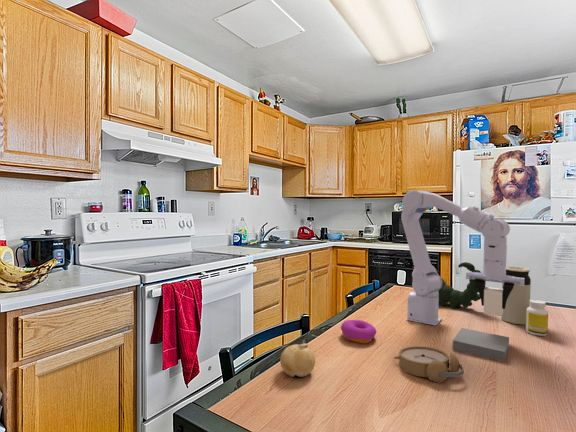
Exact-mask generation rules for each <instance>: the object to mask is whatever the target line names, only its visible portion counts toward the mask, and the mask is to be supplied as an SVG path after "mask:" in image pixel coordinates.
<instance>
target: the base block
mask: <svg viewBox="0 0 576 432" xmlns="http://www.w3.org/2000/svg"><path fill="white" fill-rule="evenodd" d="M509 347H510V337H509V336H505V335H499V334H494V333H490V332H489V333H488V332H486V331H485V332H484V331H478V330H476V329H475V330H473V329H470V328H465V327H461V328H460V329H459V331H458V332H457V334H456V335H455V336H454V338H453V340H452V350H453V351H458V352H460V353H461V352H462V353H467V354H469V355H474V356H478V357H481V358H485V359H486V358H488V359H490V360H496V361H500V362H504V363H505V362H506V361H507V359H506V358H507V355H508V351H509Z"/></svg>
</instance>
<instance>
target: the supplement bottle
mask: <svg viewBox="0 0 576 432" xmlns="http://www.w3.org/2000/svg"><path fill="white" fill-rule="evenodd" d="M546 304H547V302H545V301H543V300H539V299H538V300H537V299H530V307H528V308H527V312H526V324H525V332H527V333H528V334H531V335H533V336H540V337H543V336H544V337H545V336H547V335H548V329H549V328H548V325H549V324H548V323H549V311H548V310H547V309H546V307H547V305H546Z"/></svg>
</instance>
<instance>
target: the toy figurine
mask: <svg viewBox="0 0 576 432" xmlns="http://www.w3.org/2000/svg"><path fill="white" fill-rule="evenodd" d="M458 268H459V269H460V268H466V269H467V270H468V272H477V273H482V271H481V270H479V269H476V267H475V265H474V264H472V263H471V262H466V261H464V262H461V263H459V265H458ZM441 279H442V287H441V289H440V290H439V291H438V293H439V305H442V306H443V305H445V304H447V303H449V306H450V308H451V309H456V308H457V307H461V306H462V308H464V309H468V307H472V305H473V302H472V301H474V302H478V301H479V300H480V301H481V298H480V295H479V292H478V290H477V288H476V286H475V283H474V282H475V280H474V279H468V280H469V283H467V284H466V288H465V289H464V290H463V291H460V290H458V289H454V288H453V287H452V286H450V285H448V284H446V282H445V280H444V279H443V277H441Z"/></svg>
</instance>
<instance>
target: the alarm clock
mask: <svg viewBox="0 0 576 432" xmlns="http://www.w3.org/2000/svg"><path fill="white" fill-rule="evenodd" d="M393 358H394V359H396V360H398V361H399V364H398V365H399V368H400V369H401V370H402V371H403V372H405V373H407V374H410V375H413V376H416V377H421V378H428V379H429V380H430V381H432V382H434V383H442V382H444V381H445V380H446V379H447V378H459V377H462V376H463V375H464V374H465V371H464V367H463V364H461V363H460V360H459V358H458V356H457V355H455V354H453V353H449V354H448V353H447V352H445V351H444V350H441V349H438V348H435V347H429V346H422V345H421V346H420V345H419V346H418V345H412V346H407V347H403V348H401V349H400V350H399V351H398V356H394V357H393Z"/></svg>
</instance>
